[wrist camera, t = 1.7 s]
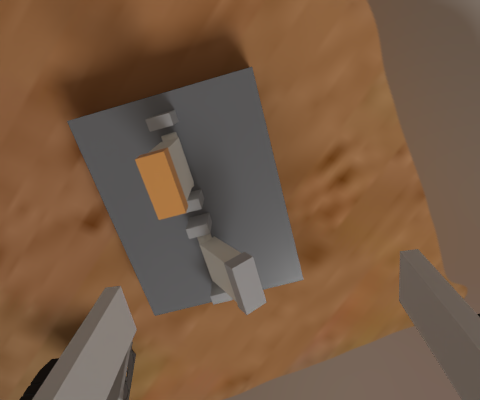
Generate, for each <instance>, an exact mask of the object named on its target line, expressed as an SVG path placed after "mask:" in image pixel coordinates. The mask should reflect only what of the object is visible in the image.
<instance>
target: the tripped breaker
mask: <svg viewBox="0 0 480 400" xmlns="http://www.w3.org/2000/svg"><path fill="white" fill-rule="evenodd" d="M161 138H162V141H163V142H160V143H159V144H158V145H157V146H155V147H154V148H153V149H152V150H151V151H150V152H148V153H146V154H142V155H140V156H139V157H137V158H136V159H135V161H136V164H137V166H138V169H139V171H140V174H141V177H142V179H143V182H144V184H145V187H146V189H147V192H148V194H149V197H150V199H151V202H152V204H153V207H154V209H155V212H156V214H157V217H158V219H159V220H161V219H165V218H169V217H173V216H177V215H180V214H184V213H186V211H187V209H188V204H187V199H188V197H189V194H190V192H191V189H192V187H194V181H193V178H192V175H191V172H190V169H189V166H188V163H187V160H186V158H185V155H184V152H183V149H182V146H181V143H180V140H179V137H178V136H177V133H176V132H173V133H169V134H166V135H163V136H161Z"/></svg>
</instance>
